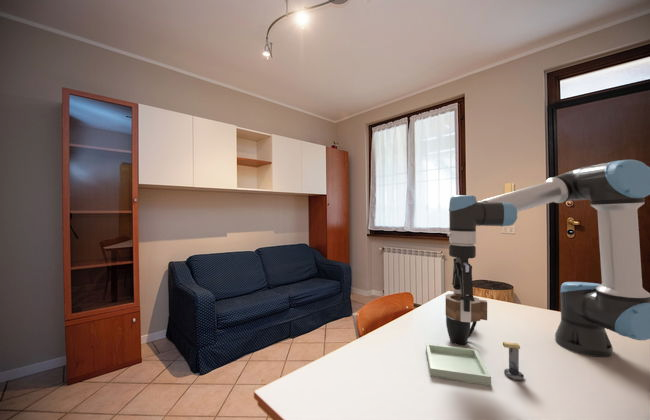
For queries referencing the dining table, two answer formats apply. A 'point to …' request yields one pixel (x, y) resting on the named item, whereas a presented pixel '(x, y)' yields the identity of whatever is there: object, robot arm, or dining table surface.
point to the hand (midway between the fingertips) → (461, 315)
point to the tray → (457, 364)
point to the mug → (459, 330)
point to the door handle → (513, 362)
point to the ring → (455, 308)
